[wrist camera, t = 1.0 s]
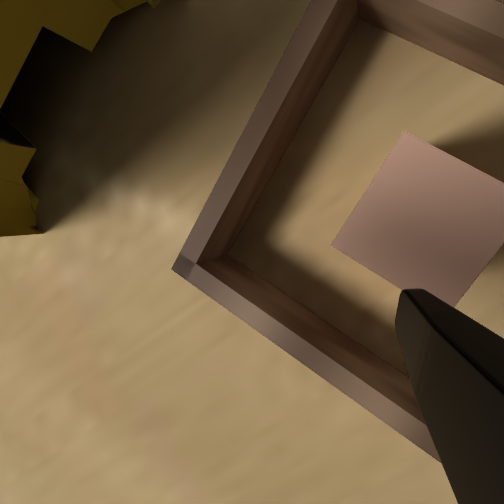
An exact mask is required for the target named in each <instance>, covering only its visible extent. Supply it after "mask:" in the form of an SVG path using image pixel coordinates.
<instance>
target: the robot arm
mask: <svg viewBox="0 0 504 504" xmlns="http://www.w3.org/2000/svg"><path fill="white" fill-rule="evenodd" d="M395 327H396V332H397V335H398V339H399V342H400V346H401V350H402V353H403V357H404V360H405V364H406V368H407V371H408V375H409V379H410V382H411V386H412V389H413V392H414V395H415V398H416V401H417V403H418V406H419V408H420V411H421V413H422V416H423V418H424V421H425V423H426V426H427V428H428V431H429V433H430V436H431V438H432V440H433V443H434V445H435V448H436V450H437V453H438V455H439V458H440V460H441V463H442V465H443V468H444V470H445V472H446V475H447V477H448V480H449V482H450V485H451V487H452V490H453V492H454V495H455V497H456V500H457V502H458V504H504V339H503V338H502V337H500V336H499V335H497V334H495V333H494V332H492V331H491V330H489V329H487V328H486V327H484V326H483V325H481V324H479V323H478V322H476V321H475V320H473V319H471V318H470V317H468V316H466V315H465V314H463V313H462V312H460V311H458V310H457V309H455V308H454V307H452V306H450V305H449V304H447V303H446V302H444V301H442V300H441V299H439V298H438V297H436V296H434V295H433V294H431V293H430V292H428V291H426V290H425V289H422V288H412V289H404V290H402V291H401V293H400V297H399V302H398V307H397V313H396V318H395Z"/></svg>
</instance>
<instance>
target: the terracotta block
mask: <svg viewBox="0 0 504 504" xmlns="http://www.w3.org/2000/svg"><path fill="white" fill-rule="evenodd" d="M503 243H504V183H503V182H501V181H499V180H497V179H495V178H493V177H492V176H490V175H488V174H486V173H484V172H482V171H480V170H478V169H476V168H474V167H472V166H471V165H469V164H467V163H465V162H463V161H461V160H459V159H457V158H455V157H453V156H452V155H450V154H448V153H446V152H444V151H442V150H440V149H438V148H436V147H434V146H432V145H431V144H429V143H427V142H425V141H423V140H421V139H419V138H417V137H415V136H413V135H412V134H410V133H408V132H406V131H403V133H402V134H401V136H400V137H399V139H398V141H397V142H396V144H395V145H394V147H393V148H392V150H391V152H390V153H389V155H388V156H387V158H386V159H385V161H384V163H383V164H382V166H381V167H380V169H379V170H378V172H377V173H376V175H375V177H374V178H373V180H372V181H371V183H370V184H369V186H368V188H367V189H366V191H365V192H364V194H363V195H362V197H361V199H360V200H359V202H358V203H357V205H356V206H355V208H354V209H353V211H352V213H351V214H350V216H349V217H348V219H347V220H346V222H345V224H344V225H343V227H342V228H341V230H340V231H339V233H338V235H337V236H336V238H335V239H334V241H333V242H332V244H331V246H333V247H334V248H336V249H337V250H339V251H341V252H342V253H344V254H345V255H347V256H349V257H350V258H352V259H353V260H355V261H357V262H358V263H360V264H361V265H363V266H365V267H366V268H368V269H369V270H371V271H373V272H374V273H376V274H377V275H379V276H381V277H382V278H384V279H385V280H387V281H389V282H390V283H392V284H393V285H395V286H397V287H398V288H400V289H401V290H404V289H412V288H422V289H425V290H426V291H428V292H430V293H431V294H433V295H434V296H436V297H438V298H439V299H441V300H442V301H444V302H446V303H447V304H449V305H450V306H452V307H455V305H456V304H457V303H458V301H459V300H460V299H461V298H462V296H463V295H464V294H465V292H466V291H467V290H468V289H469V287H470V286H471V285H472V283H473V282H474V281H475V280H476V278H477V277H478V276H479V274H480V273H481V272H482V271H483V269H484V268H485V267H486V265H487V264H488V263H489V261H490V260H491V259H492V258H493V256H494V255H495V254H496V252H497V251H498V250H499V249H500V247H501V246H502V245H503Z"/></svg>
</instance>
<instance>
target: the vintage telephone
mask: <svg viewBox="0 0 504 504" xmlns="http://www.w3.org/2000/svg"><path fill="white" fill-rule="evenodd" d="M160 1H161V0H0V109H1V107H2V105H3V103H4V101H5V99H6V97H7V95H8V93H9V91H10V89H11V87H12V85H13V83H14V81H15V79H16V77H17V75H18V73H19V71H20V69H21V68H22V66H23V64H24V62H25V60H26V58H27V56H28V54H29V52H30V50H31V48H32V46H33V44H34V42H35V40H36V38H37V36H38V34H39V32H40V30H41V28H42V26H43V27H45V28H47V29H49V30H51V31H53V32H55V33H57V34H59V35H61V36H62V37H64V38H66V39H68V40H70V41H72V42H74V43H76V44H78V45H80V46H82V47H83V48H85V49H87V50H89V51H91V52H92V50H93V48H94V47H95V45H96V43H97V42H98V40H99V38H100V36H101V35H102V33H103V31H104V30H105V28H106V26H107V25H108V23H109V21H110V19H111V18H112V17H114V16H116V15H119V14H121V13H123V12H125V11H127V10H129V9H131V8H133V7H136V6H138V5H140V4H142V3H144V2H148V3H149V4H150V5H151V6H152V7H153V8H155V6H156V5H157V4H158V3H159V2H160ZM35 151H36V148H35V147H34V146H33V144H32V143H31V142H30V141H29V140H28V139H27V138H26V137H25V136H24V135H23V134H22V133H21V132H20V131H19V130H18V129H17V128H16V127H15V126H14V125H13V124H12V123H11V122H10V121H9V120H8V119H7V118H6V117H5V116H4V115H3V114H2V113H1V112H0V237H3V236H17V235H31V234H44V233H43V232H42V231H41V230H40V229H39V228H38V227H37V226H36V219H35V212H36V209H37V206H38V203H39V199H38V198H37V197H36V196H35V195H34V194H33V193H32V192H31V191H30V189H29V188H28V187H27V186H26V185H25V184H24V182H23V179H22V175H23V173H24V171H25V169H26V168H27V166H28V164H29V162H30V160H31V158H32V156H33V155H34V153H35Z"/></svg>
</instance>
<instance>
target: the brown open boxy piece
mask: <svg viewBox="0 0 504 504" xmlns="http://www.w3.org/2000/svg"><path fill="white" fill-rule="evenodd" d="M359 18H361V19H363V20H365V21H367V22H369V23H372V24H374V25H376V26H378V27H380V28H382V29H384V30H387V31H389V32H391V33H393V34H395V35H397V36H399V37H402V38H404V39H406V40H408V41H410V42H412V43H414V44H417V45H419V46H421V47H423V48H425V49H427V50H429V51H432V52H434V53H436V54H438V55H440V56H442V57H444V58H447V59H449V60H451V61H453V62H455V63H457V64H459V65H462V66H464V67H466V68H468V69H470V70H472V71H474V72H477V73H479V74H481V75H483V76H485V77H487V78H489V79H492V80H494V81H496V82H498V83H500V84H502V85H504V3H501V2H499V1H497V0H311V2H310V4H309V6H308V8H307V10H306V12H305V14H304V16H303V18H302V20H301V21H300V23H299V25H298V27H297V29H296V31H295V33H294V35H293V37H292V39H291V41H290V43H289V44H288V46H287V48H286V50H285V52H284V54H283V56H282V58H281V60H280V62H279V64H278V66H277V67H276V69H275V71H274V73H273V75H272V77H271V79H270V81H269V83H268V85H267V87H266V89H265V90H264V92H263V94H262V96H261V98H260V100H259V102H258V104H257V106H256V108H255V110H254V112H253V113H252V115H251V117H250V119H249V121H248V123H247V125H246V127H245V129H244V131H243V133H242V135H241V136H240V138H239V140H238V142H237V144H236V146H235V148H234V150H233V152H232V154H231V156H230V157H229V159H228V161H227V163H226V165H225V167H224V169H223V171H222V173H221V175H220V177H219V179H218V180H217V182H216V184H215V186H214V188H213V190H212V192H211V194H210V196H209V198H208V200H207V202H206V203H205V205H204V207H203V209H202V211H201V213H200V215H199V217H198V219H197V221H196V223H195V225H194V226H193V228H192V230H191V232H190V234H189V236H188V238H187V240H186V242H185V244H184V246H183V248H182V249H181V251H180V253H179V255H178V257H177V259H176V261H175V263H174V265H173V267H172V270H173V271H174V272H176V273H177V274H179V275H180V276H181V277H183V278H184V279H185V280H187V281H188V282H190V283H191V284H192V285H194V286H195V287H197V288H198V289H199V290H201V291H202V292H204V293H205V294H206V295H208V296H209V297H211V298H212V299H213V300H215V301H216V302H218V303H219V304H220V305H222V306H223V307H224V308H226V309H227V310H229V311H230V312H231V313H233V314H234V315H236V316H237V317H238V318H240V319H241V320H243V321H244V322H245V323H247V324H248V325H250V326H251V327H252V328H254V329H255V330H257V331H258V332H259V333H261V334H262V335H263V336H265V337H266V338H268V339H269V340H270V341H272V342H273V343H275V344H276V345H277V346H279V347H280V348H282V349H283V350H284V351H286V352H287V353H289V354H290V355H291V356H293V357H294V358H295V359H297V360H298V361H300V362H301V363H302V364H304V365H305V366H307V367H308V368H309V369H311V370H312V371H314V372H315V373H316V374H318V375H319V376H321V377H322V378H323V379H325V380H326V381H328V382H329V383H330V384H332V385H333V386H334V387H336V388H337V389H339V390H340V391H341V392H343V393H344V394H346V395H347V396H348V397H350V398H351V399H353V400H354V401H355V402H357V403H358V404H360V405H361V406H362V407H364V408H365V409H367V410H368V411H369V412H371V413H372V414H373V415H375V416H376V417H378V418H379V419H380V420H382V421H383V422H385V423H386V424H387V425H389V426H390V427H392V428H393V429H394V430H396V431H397V432H399V433H400V434H401V435H403V436H404V437H405V438H407V439H408V440H410V441H411V442H412V443H414V444H415V445H417V446H418V447H419V448H421V449H422V450H424V451H425V452H426V453H428V454H429V455H431V456H432V457H433V458H435V459H436V460H438V461H439V462H440V463H441V460H440V458H439V455H438V453H437V450H436V448H435V445H434V443H433V440H432V438H431V436H430V433H429V431H428V428H427V426H426V423H425V421H424V418H423V416H422V413H421V411H420V408H419V406H418V403H417V401H416V398H415V395H414V392H413V389H412V386H411V382H410V379H409V378H408V377H407V376H405V375H404V374H402V373H401V372H399V371H398V370H396V369H395V368H393V367H392V366H390V365H389V364H387V363H386V362H385V361H383V360H382V359H380V358H379V357H377V356H376V355H374V354H373V353H371V352H370V351H368V350H367V349H365V348H364V347H362V346H361V345H359V344H358V343H357V342H355V341H354V340H352V339H351V338H349V337H348V336H346V335H345V334H343V333H342V332H340V331H339V330H337V329H336V328H334V327H333V326H332V325H330V324H329V323H327V322H326V321H324V320H323V319H321V318H320V317H318V316H317V315H315V314H314V313H312V312H311V311H309V310H308V309H306V308H305V307H304V306H302V305H301V304H299V303H298V302H296V301H295V300H293V299H292V298H290V297H289V296H287V295H286V294H284V293H283V292H281V291H280V290H279V289H277V288H276V287H274V286H273V285H271V284H270V283H268V282H267V281H265V280H264V279H262V278H261V277H259V276H258V275H256V274H255V273H253V272H252V271H251V270H249V269H248V268H246V267H245V266H243V265H242V264H240V263H239V262H237V261H236V260H234V259H233V258H231V257H230V256H228V255H227V254H228V252H229V250H230V249H231V247H232V245H233V243H234V241H235V240H236V238H237V236H238V234H239V232H240V231H241V229H242V227H243V225H244V224H245V222H246V220H247V218H248V216H249V215H250V213H251V211H252V209H253V208H254V206H255V204H256V202H257V200H258V199H259V197H260V195H261V193H262V191H263V190H264V188H265V186H266V184H267V183H268V181H269V179H270V177H271V175H272V174H273V172H274V170H275V168H276V166H277V165H278V163H279V161H280V159H281V158H282V156H283V154H284V152H285V150H286V149H287V147H288V145H289V143H290V141H291V140H292V138H293V136H294V134H295V133H296V131H297V129H298V127H299V125H300V124H301V122H302V120H303V118H304V117H305V115H306V113H307V111H308V109H309V108H310V106H311V104H312V102H313V100H314V99H315V97H316V95H317V93H318V92H319V90H320V88H321V86H322V84H323V83H324V81H325V79H326V77H327V75H328V74H329V72H330V70H331V68H332V67H333V65H334V63H335V61H336V59H337V58H338V56H339V54H340V52H341V50H342V49H343V47H344V45H345V43H346V42H347V40H348V38H349V36H350V34H351V33H352V31H353V29H354V27H355V26H356V24H357V22H358V20H359Z"/></svg>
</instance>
